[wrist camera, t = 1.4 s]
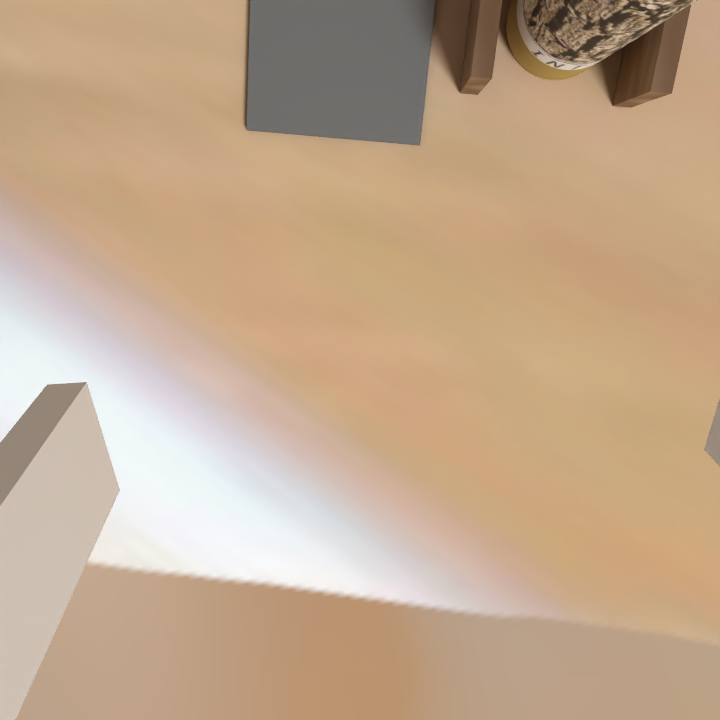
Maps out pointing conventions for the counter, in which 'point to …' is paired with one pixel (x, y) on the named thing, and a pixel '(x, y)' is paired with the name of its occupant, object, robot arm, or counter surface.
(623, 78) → the board
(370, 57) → the mat
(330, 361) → the counter surface
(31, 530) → the robot arm
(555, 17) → the paper tube
